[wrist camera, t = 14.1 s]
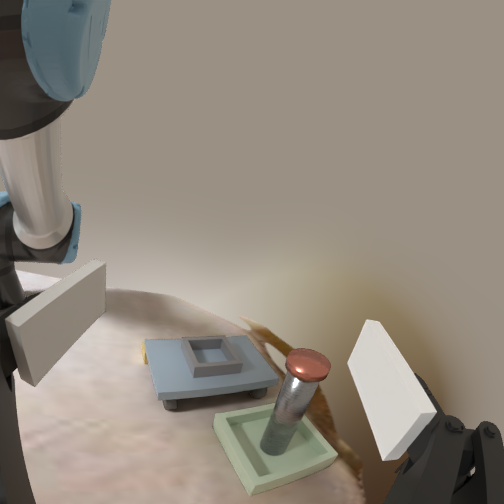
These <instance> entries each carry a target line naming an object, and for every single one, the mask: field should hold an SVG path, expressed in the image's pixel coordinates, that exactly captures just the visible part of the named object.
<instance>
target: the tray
mask: <svg viewBox="0 0 504 504" xmlns="http://www.w3.org/2000/svg"><path fill="white" fill-rule="evenodd" d="M275 403H276V402H275ZM275 403H271V404H266V405H262V406H257V407H252V408H246V409H241V410H235V411H229V412H223V413H216V414H215V418H214V423H213V429H214V431H215V433H216V435H217V437H218V439H219V441H220V443H221V445H222V447H223V449H224V451H225V453H226V454H227V456H228V458H229V460H230V462H231V464H232V466H233V468H234V469H235V471H236V473H237V475H238V477H239V478H240V480H241V482H242V484H243V486H244V487H245V489H246V491H247V492H248V494H249V496H251V495H255V494H258V493H261V492H264V491H267V490H270V489H273V488H276V487H279V486H282V485H285V484H288V483H290V482H293V481H296V480H298V479H301V478H303V477H306V476H308V475H311V474H313V473H315V472H318V471H320V470H322V469H324V468H327V467H329V466H330V465H331V464H332V462H333V461H334V460H335V458H336V457H337V456H338V453H337V452H336V451H335V450H334V449H333V448H332V447H331V445H330V444H329V443H328V442H327V441H326V440H325V438H324V437H323V436H322V435H321V434H320V433H319V431H318V430H317V429H316V428H315V427H314V425H313V424H312V423H311V422H310V421H309V419H308V418H307V417H306V416H305V415H304V416H303V418H302V420H301V422H300V424H299V426H298V428H297V430H296V432H295V434H294V436H293V438H292V440H291V441H290V443H289V445H288V447H287V449H286V451H285V452H284V453H283V454H282V455H279V456H271V455H268V454H266V453H264V452H263V451H262V450H261V448H260V441H261V438H262V436H263V433H264V431H265V429H266V426H267V424H268V421H269V419H270V416H271V414H272V411H273V409H274V406H275Z"/></svg>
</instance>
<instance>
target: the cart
mask: <svg viewBox="0 0 504 504" xmlns="http://www.w3.org/2000/svg"><path fill="white" fill-rule="evenodd" d="M142 354H143V359H144V364H149V368H150V372H151V376H152V380H153V384H154V388H155V391H156V395H157V399H158V400H163V405H164V408H165V409H166V410H169V409H176V408H177V399H183V398H194V397H204V396H212V395H220V394H228V393H234V392H241V391H247V390H249V392H250V394H251V396H252V397H253V398H259V397H264V396H265V395H266V393H267V387H270V386H275V385H277V384H278V381H279V377H278V375H277V374H276V373H275V372H274V370H273V369H272V368H271V367H270V365H269V364H268V363H267V362H266V360H265V359H264V358H263V356H262V355H261V354H260V353H259V351H258V350H257V349H256V347H255V346H254V345H253V343H252V342H251V341H250V339H249V338H248V337H247V336H233V337H226V336H207V337H182V339H145V342H142Z"/></svg>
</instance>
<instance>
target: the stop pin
mask: <svg viewBox="0 0 504 504" xmlns="http://www.w3.org/2000/svg"><path fill="white" fill-rule="evenodd" d="M285 366H286V369H287V370H288V371H287V374H286V377H285V380H284V382H283V385H282V388H281V390H280V393H279V396H278V398H277V401H276V403H275V406H274V409H273V411H272V414H271V416H270V419H269V421H268V424H267V426H266V429H265V431H264V433H263V436H262V438H261V441H260V448H261V450H262V451H263V452H264V453H266V454H268V455H271V456H279V455H282V454H283V453H284V452H285V451H286V449H287V447H288V445H289V443H290V441H291V440H292V438H293V436H294V434H295V432H296V430H297V428H298V426H299V424H300V422H301V420H302V418H303V416H304V414H305V412H306V410H307V408H308V406H309V403H310V401H311V399H312V397H313V395H314V393H315V390H316V388H317V386H318V384H319V382H320V381H322V380H324V379H325V378H326V377H327V375H328V373H329V371H330V368H331V364H330V362H329V360H328V359H327V358H326V357H325V356H324V355H322V354H321V353H319V352H316V351H314V350H311V349H305V348H299V349H294V350H292V351H290V352H289V354H288V357H287V360H286V363H285Z"/></svg>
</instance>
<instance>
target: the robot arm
mask: <svg viewBox="0 0 504 504" xmlns="http://www.w3.org/2000/svg"><path fill="white" fill-rule="evenodd" d="M110 4H111V0H0V174H1V176H2V180H3V182H4V185H5V188H6V192H0V504H36V502H35V499H34V496H33V493H32V489H31V486H30V482H29V478H28V474H27V470H26V465H25V461H24V456H23V451H22V446H21V440H20V433H19V426H18V418H17V409H16V398H15V380H14V376H13V373H12V372H13V371H14V370H15V369H16V368H18V371H19V374H20V377H21V379H22V380H24V381H25V382H27V383H29V384H31V385H32V386H34V387H35V386H36V385H37V384H38V383H39V382H40V380H41V379H42V378H43V377H44V376H45V375H46V374H47V373H48V371H49V370H50V369H51V368H52V367H53V366H54V365H55V364H56V362H57V361H58V360H59V359H60V358H61V357H62V356H63V355H64V354H65V353H66V351H67V350H68V349H69V348H70V347H71V346H72V345H73V344H74V343H75V342H76V341H77V340H78V339H79V338H80V337H81V335H82V334H83V333H84V332H85V331H86V330H87V329H88V328H89V327H90V326H91V325H92V324H93V323H94V322H95V321H96V320H97V319H98V318H99V317H100V316H101V315H102V314H103V313H104V312H105V311H106V301H105V292H106V262H102V261H99V260H95V259H93V260H91V261H90V262H88V263H87V264H85V265H83V266H82V267H80V268H79V269H77V270H75V271H74V272H72V273H71V274H69V275H68V276H66V277H65V278H63V279H62V280H60V281H58V282H57V283H55V284H54V285H52V286H51V287H49V288H48V289H47V290H45V291H44V292H42V293H37V294H34V295H31V296H29V297H27V298H26V299H25V295H24V291H23V288H22V286H21V284H20V281H19V279H18V276H17V274H16V271H15V266H14V261H16V262H38V263H57V264H63V263H72V262H73V261H74V260H75V259H76V256H77V250H78V240H79V233H80V223H81V222H80V221H81V206H80V205H79V204H77V203H74V202H70V200H69V198H68V197H67V195H66V194H65V193H64V192H63V189H62V173H61V117H62V116H63V115H64V114H65V113H66V111H67V110H68V109H69V108H70V106H71V105H72V103H73V101H74V99H77V98H80V97H82V96H83V95H84V94H85V93H86V92H87V91H88V89H89V87H90V85H91V83H92V80H93V78H94V75H95V71H96V68H97V65H98V61H99V57H100V53H101V48H102V41H103V39H104V36H105V32H106V27H107V22H108V16H109V11H110ZM347 364H348V366H349V369H350V372H351V374H352V376H353V379H354V382H355V385H356V387H357V390H358V393H359V395H360V398H361V401H362V403H363V406H364V409H365V411H366V415H367V417H368V420H369V423H370V425H371V429H372V431H373V434H374V437H375V440H376V443H377V446H378V449H379V452H380V455H381V458H382V461H385V460H395V459H399V458H400V457H401V456H402V454H403V453H404V452H405V451H406V450H407V451H408V454H409V457H408V458H407V459H406V460H405V461H404V462H403V463H402V464H401V465H400V467H399V468H398V469H397V470H396V471H395V473H397V472H398V471H399V470H400V472H399V474H398V476H397V478H396V480H395V482H394V484H393V486H392V488H391V490H390V491H389V493H388V495H387V497H386V499H385V500H384V502H383V504H504V446H503V442H502V438H501V433H500V431H499V429H498V428H497V426H496V425H494V424H493V423H491V422H488V421H483V422H481V423H480V425H479V426H478V427H477V428H476V430H472V429H466V428H465V426H464V424H463V423H462V422H461V421H460V420H459V419H458V418H456V417H453V416H450V415H447V416H446V415H445V414H444V412H443V411H442V409H441V407H440V406H439V404H438V402H437V401H436V399H435V398H434V396H432V393H431V391H430V390H428V387H427V385H426V383H425V382H424V380H422V379H421V378H420V377H419V376H418V375H417V374H416V373H413V372H412V370H411V369H410V367H409V365H408V364H407V362H406V361H405V359H404V358H403V356H402V355H401V353H400V352H399V350H398V349H397V347H396V346H395V344H394V343H393V341H392V340H391V338H390V337H389V335H388V334H387V332H386V331H385V330H384V328H383V326H382V325H381V323H380V322H379V321H373V320H366V322H365V324H364V326H363V329H362V331H361V333H360V336H359V338H358V340H357V343H356V345H355V347H354V349H353V351H352V354H351V356H350V358H349V360H348V362H347ZM474 467H475V473H474V474H473V475H472V476H471V474H470V471H471V470H472V469H473V468H474Z"/></svg>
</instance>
